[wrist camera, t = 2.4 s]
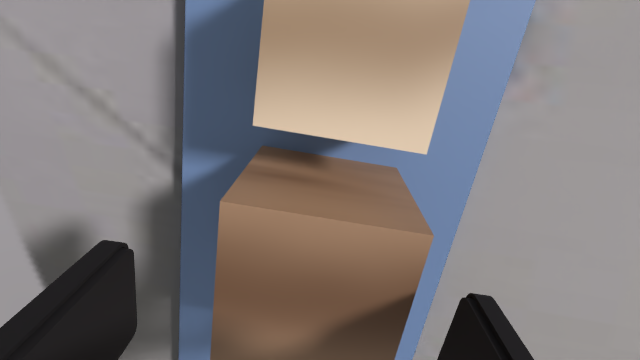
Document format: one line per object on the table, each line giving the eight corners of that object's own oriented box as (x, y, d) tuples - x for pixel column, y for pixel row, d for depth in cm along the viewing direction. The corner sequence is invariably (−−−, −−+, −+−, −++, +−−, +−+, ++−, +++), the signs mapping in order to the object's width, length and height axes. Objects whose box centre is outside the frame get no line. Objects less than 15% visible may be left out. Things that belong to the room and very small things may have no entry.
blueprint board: (386, 412, 22) (388, 429, 21) (184, 382, 22) (177, 398, 21) (528, -18, 13) (545, -24, 12) (197, -78, 13) (186, -89, 12)
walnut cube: (368, 278, 17) (385, 388, 12) (250, 260, 17) (209, 362, 11) (396, 167, 15) (433, 235, 10) (262, 145, 15) (219, 201, 9)
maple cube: (396, 121, 14) (426, 154, 10) (278, 101, 14) (252, 125, 10) (428, -11, 13) (483, -49, 8) (294, -36, 13) (272, -87, 8)
